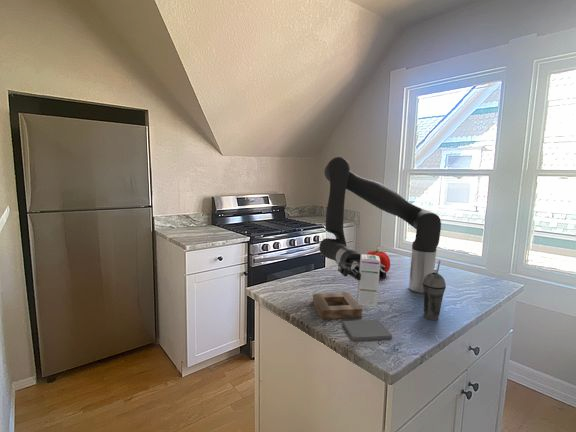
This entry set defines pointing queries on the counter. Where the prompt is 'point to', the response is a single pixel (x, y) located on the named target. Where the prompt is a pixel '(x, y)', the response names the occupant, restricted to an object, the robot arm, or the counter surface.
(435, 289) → the beverage cup
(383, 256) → the tomato
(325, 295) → the walnut socket stand
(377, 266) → the syrup box
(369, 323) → the charcoal rubber mat
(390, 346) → the counter surface
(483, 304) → the counter surface
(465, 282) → the counter surface
